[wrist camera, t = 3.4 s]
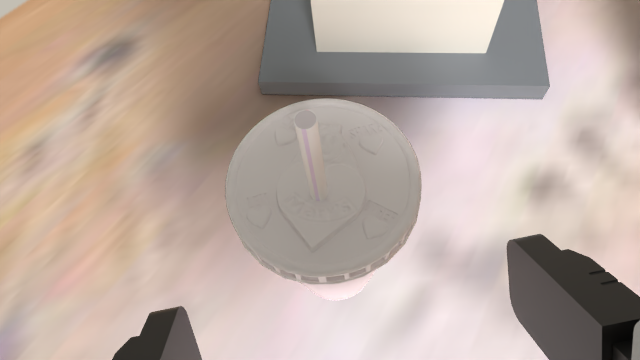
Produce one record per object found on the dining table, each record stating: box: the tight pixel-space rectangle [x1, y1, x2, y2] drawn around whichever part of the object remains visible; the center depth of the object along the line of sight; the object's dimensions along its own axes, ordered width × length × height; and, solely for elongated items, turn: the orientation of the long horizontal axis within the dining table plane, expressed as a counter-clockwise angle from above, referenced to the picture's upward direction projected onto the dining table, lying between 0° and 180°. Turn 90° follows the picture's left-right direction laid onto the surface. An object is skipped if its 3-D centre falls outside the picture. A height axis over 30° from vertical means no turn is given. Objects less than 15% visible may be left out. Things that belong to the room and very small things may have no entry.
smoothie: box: [225, 98, 421, 300], centre depth 18 cm, size 6×6×14 cm
